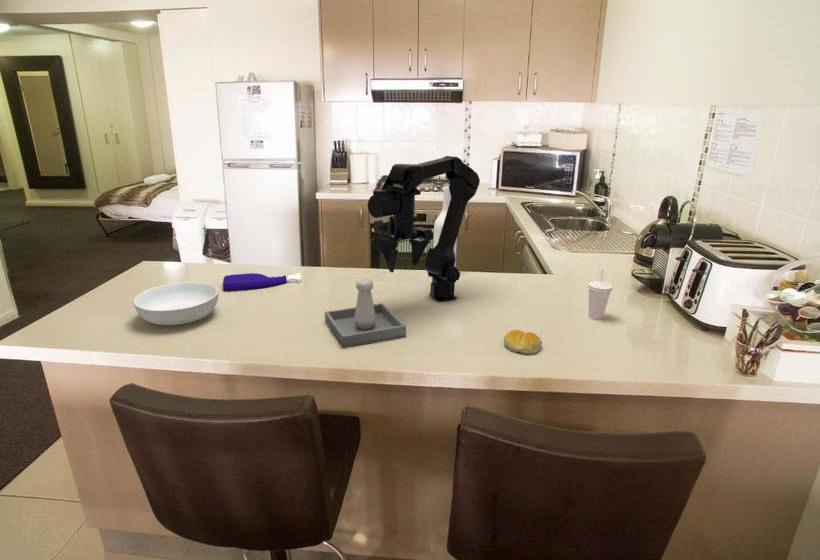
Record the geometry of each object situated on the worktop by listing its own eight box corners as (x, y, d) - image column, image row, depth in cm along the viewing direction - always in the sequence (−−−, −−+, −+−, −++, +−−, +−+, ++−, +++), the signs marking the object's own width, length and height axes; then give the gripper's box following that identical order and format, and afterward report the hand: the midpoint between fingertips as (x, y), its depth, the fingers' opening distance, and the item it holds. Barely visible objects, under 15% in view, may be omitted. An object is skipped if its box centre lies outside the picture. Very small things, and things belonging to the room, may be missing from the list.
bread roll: (509, 337, 127) (511, 322, 126) (544, 345, 123) (545, 331, 121) (497, 349, 120) (498, 334, 119) (533, 358, 116) (535, 343, 115)
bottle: (460, 272, 176) (464, 187, 166) (444, 277, 171) (448, 190, 161) (443, 267, 181) (446, 184, 171) (428, 271, 176) (430, 187, 166)
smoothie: (607, 314, 141) (614, 268, 137) (608, 323, 136) (615, 274, 131) (583, 311, 143) (590, 265, 139) (583, 319, 137) (590, 272, 133)
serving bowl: (118, 326, 129) (114, 301, 127) (180, 299, 148) (177, 277, 145) (180, 340, 122) (176, 314, 120) (237, 310, 140) (234, 287, 138)
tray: (382, 313, 140) (382, 303, 139) (405, 336, 126) (406, 326, 125) (325, 322, 133) (324, 311, 132) (343, 348, 119) (342, 336, 118)
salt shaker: (363, 333, 126) (362, 285, 121) (349, 326, 129) (348, 279, 125) (380, 327, 130) (380, 280, 125) (366, 320, 133) (365, 274, 129)
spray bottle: (223, 285, 152) (303, 278, 160) (222, 274, 162) (298, 268, 170) (223, 294, 153) (303, 287, 161) (223, 282, 163) (299, 276, 171)
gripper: (405, 204, 143) (405, 255, 148) (357, 213, 130) (358, 269, 135) (435, 209, 136) (433, 263, 141) (387, 219, 123) (387, 278, 128)
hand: (403, 268), depth 137 cm, fingers open, 9 cm apart
